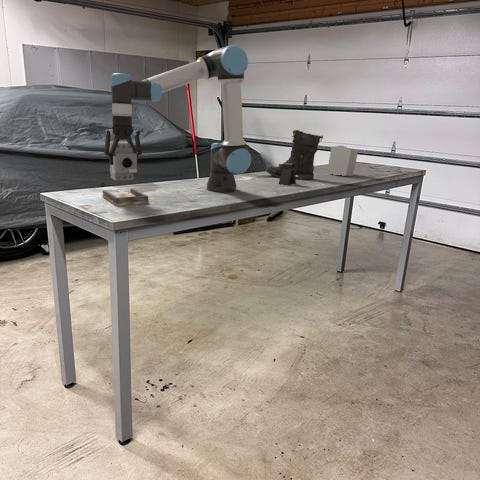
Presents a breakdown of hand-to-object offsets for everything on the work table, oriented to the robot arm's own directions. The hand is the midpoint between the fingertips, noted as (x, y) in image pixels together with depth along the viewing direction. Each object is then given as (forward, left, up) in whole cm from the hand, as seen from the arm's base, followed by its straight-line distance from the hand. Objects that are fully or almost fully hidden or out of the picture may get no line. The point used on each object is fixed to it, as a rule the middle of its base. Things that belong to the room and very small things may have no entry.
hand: (123, 172), depth 171 cm
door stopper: (-97, -9, -12) cm, 98 cm away
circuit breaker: (0, 0, -3) cm, 3 cm away
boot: (-115, -27, -12) cm, 119 cm away
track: (0, 0, -12) cm, 12 cm away
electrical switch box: (-159, -25, -12) cm, 162 cm away
